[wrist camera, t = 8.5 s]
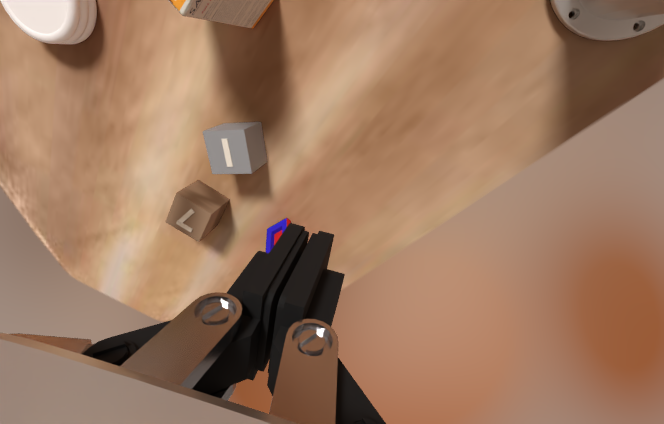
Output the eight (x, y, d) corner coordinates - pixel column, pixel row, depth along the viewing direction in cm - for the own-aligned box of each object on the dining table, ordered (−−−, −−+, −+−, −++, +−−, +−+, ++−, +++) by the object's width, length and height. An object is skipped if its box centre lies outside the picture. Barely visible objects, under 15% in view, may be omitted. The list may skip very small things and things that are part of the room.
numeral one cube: (261, 121, 41) (243, 129, 36) (267, 161, 43) (251, 173, 38) (224, 123, 42) (202, 131, 37) (231, 162, 44) (212, 174, 39)
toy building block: (286, 242, 49) (286, 291, 44) (266, 228, 47) (263, 278, 41) (305, 232, 48) (307, 281, 43) (286, 217, 45) (285, 267, 40)
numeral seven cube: (229, 199, 46) (210, 214, 42) (217, 224, 49) (198, 242, 44) (198, 179, 46) (175, 193, 41) (187, 206, 48) (164, 222, 44)
